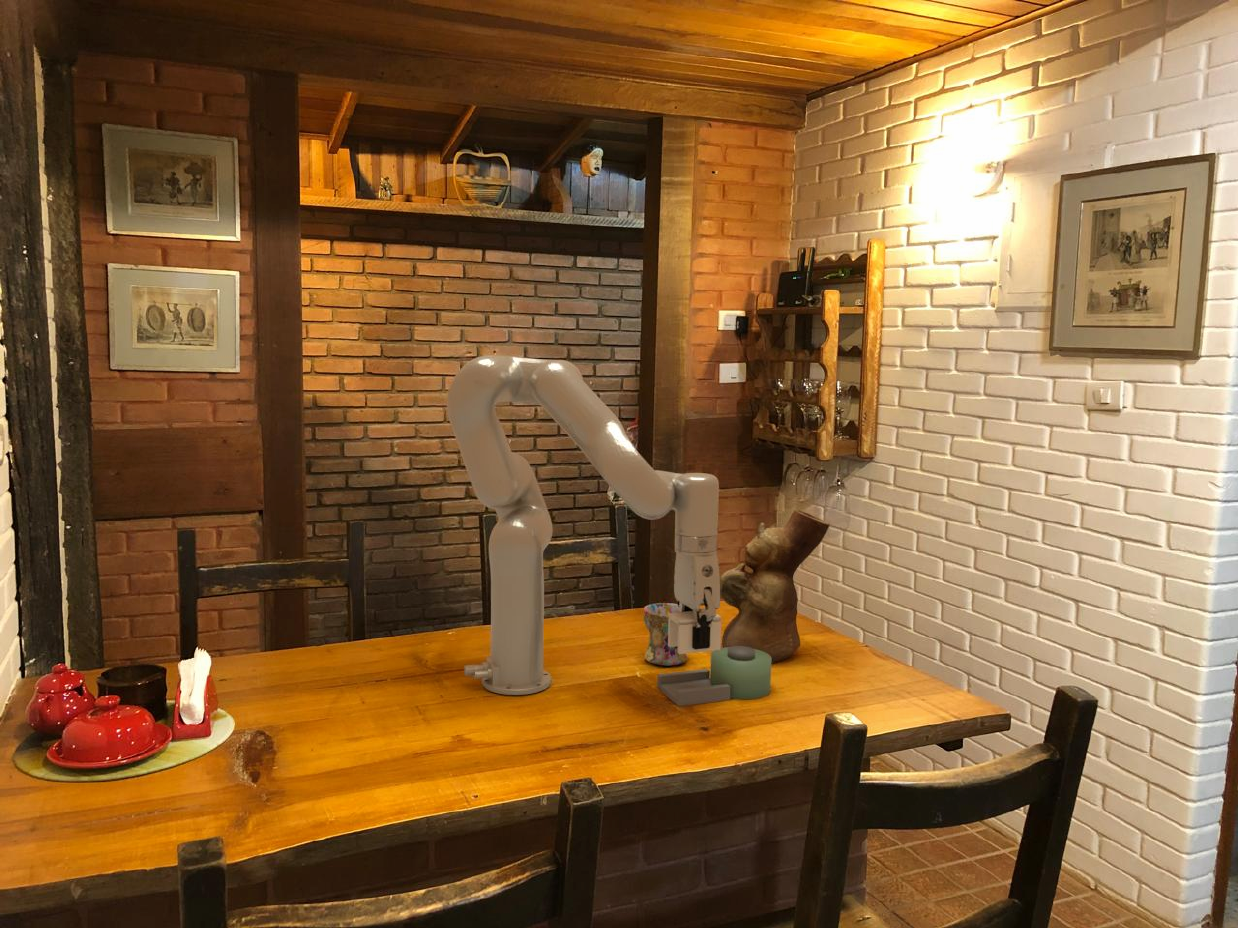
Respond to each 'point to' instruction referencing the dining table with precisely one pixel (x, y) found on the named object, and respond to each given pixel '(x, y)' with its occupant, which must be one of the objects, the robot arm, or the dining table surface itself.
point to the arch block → (691, 632)
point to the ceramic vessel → (770, 586)
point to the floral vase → (661, 635)
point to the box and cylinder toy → (721, 678)
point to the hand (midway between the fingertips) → (694, 642)
